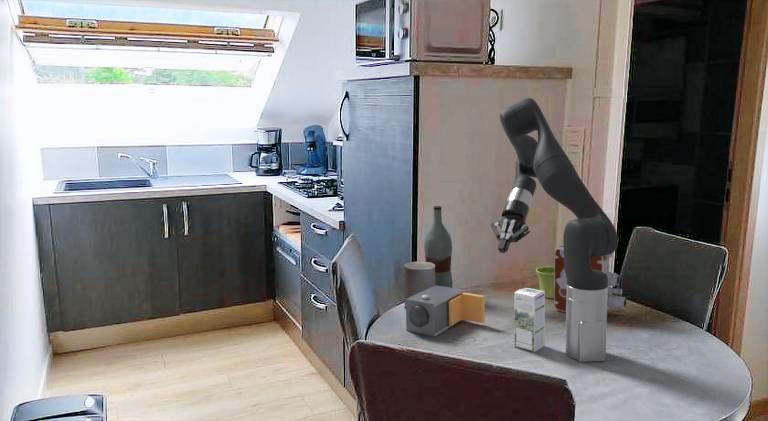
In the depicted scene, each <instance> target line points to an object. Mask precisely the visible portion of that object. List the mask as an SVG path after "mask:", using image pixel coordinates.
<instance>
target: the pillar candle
mask: <svg viewBox="0 0 768 421" xmlns="http://www.w3.org/2000/svg"><path fill="white" fill-rule="evenodd" d="M403 267H404V268H403V269H404V270H403V271H404V272H403V273H404V275H403V276H404V281H403V282H404V309H405V310H406V299H407V298H409V297H411V296H413V295H416V294H418V293H420V292H422V291H424V290H426V289H428V288H431V287H433V286H435V265H434V264H433V263H430V262H426V261H420V260H418V261H411V262H407V263H405V264H404V266H403Z"/></svg>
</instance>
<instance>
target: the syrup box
mask: <svg viewBox="0 0 768 421" xmlns="http://www.w3.org/2000/svg"><path fill="white" fill-rule="evenodd" d="M513 297H514V300H513V303H514V316H513V317H514V322H513V323H514V324H513V325H514V328H513V329H514V340H513V341H514V347H515V348H518V349H522V350H526V351H528V352H533V353H535V352H537V351H539V350H540V349H542V348H543V347H545V345H546V344H545V342H546V341H545V340H546V339H545V337H546V336H545V333H546V332H545V326H546V325H545V324H546V323H545V320H546V319H545V313H546V309H545V308H546V297H545V291H541V290H540V289H535V288H530V287H522V288H520V289H518V290H516V291H515V292H514V295H513Z"/></svg>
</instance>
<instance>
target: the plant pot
mask: <svg viewBox="0 0 768 421" xmlns="http://www.w3.org/2000/svg"><path fill="white" fill-rule="evenodd" d="M535 272H536V274H537V276H538V283H539V290H541V291H545V298H547V299H554V266H541V267H536V269H535Z"/></svg>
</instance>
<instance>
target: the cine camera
mask: <svg viewBox="0 0 768 421" xmlns="http://www.w3.org/2000/svg"><path fill="white" fill-rule="evenodd" d="M554 251H555V252H554V260H553V261H554V264H553V267H554V298H553V302H554V309H556V311H558V312H563V313H566V296H567V278H566V274H565V269H564V246H563V244H562V245H560V244H559V245H558V246H557V248H556V249H555V250H554ZM610 258H613V253H612V254H609V255H605V256H599V257H590V260H591V268H592V269H595V270H598V271H601V272H604V273H605V274H606V275H607V276H608V298H607V309H608V307H609V308H613V309H626V308H627V302H628V301H627V298H626V297H625V296H622V294H623V288H615V287H616V286H619V285H620V281H621V280H620V277H621V276H620V275H619V274H618V273H616V272H610Z"/></svg>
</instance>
